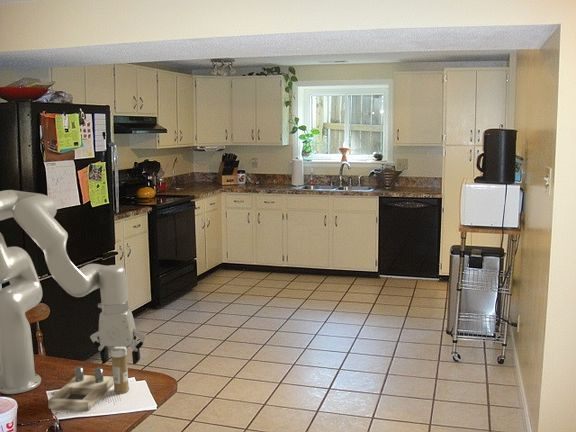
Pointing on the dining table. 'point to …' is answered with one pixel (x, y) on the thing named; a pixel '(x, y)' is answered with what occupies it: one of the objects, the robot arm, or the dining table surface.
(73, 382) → the cream square frame
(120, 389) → the sprinkles bottle
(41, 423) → the dining table surface
